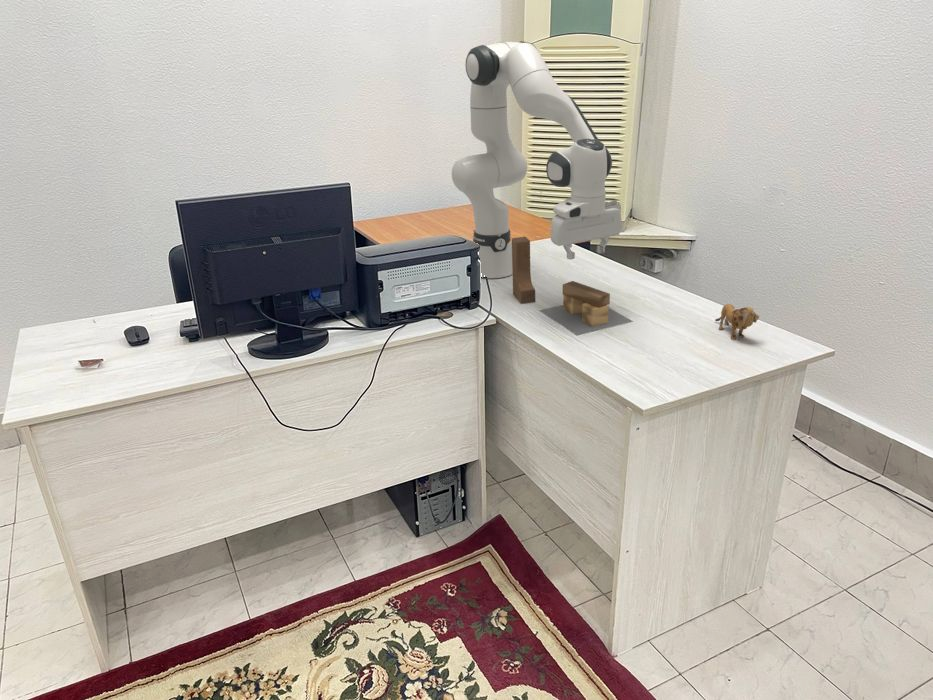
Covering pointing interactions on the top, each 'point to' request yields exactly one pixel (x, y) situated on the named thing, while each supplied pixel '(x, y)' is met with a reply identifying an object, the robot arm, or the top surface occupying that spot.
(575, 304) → the cube
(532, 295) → the wooden block
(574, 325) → the mat
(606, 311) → the cube
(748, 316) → the lion figurine
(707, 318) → the top surface
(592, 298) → the lintel
